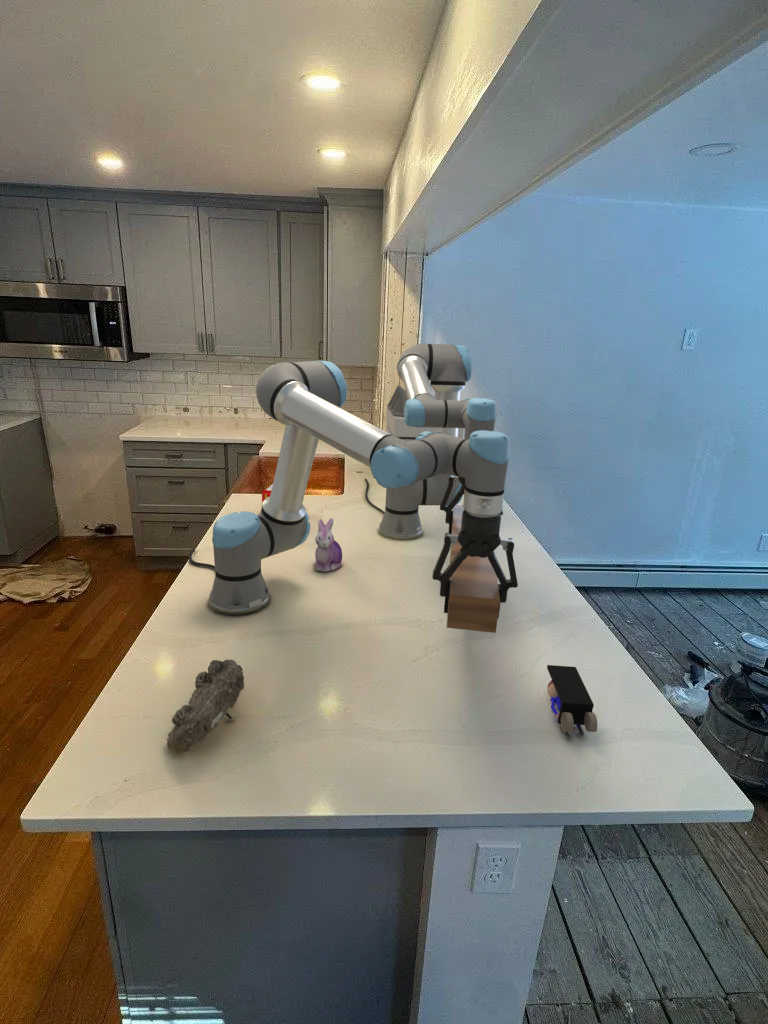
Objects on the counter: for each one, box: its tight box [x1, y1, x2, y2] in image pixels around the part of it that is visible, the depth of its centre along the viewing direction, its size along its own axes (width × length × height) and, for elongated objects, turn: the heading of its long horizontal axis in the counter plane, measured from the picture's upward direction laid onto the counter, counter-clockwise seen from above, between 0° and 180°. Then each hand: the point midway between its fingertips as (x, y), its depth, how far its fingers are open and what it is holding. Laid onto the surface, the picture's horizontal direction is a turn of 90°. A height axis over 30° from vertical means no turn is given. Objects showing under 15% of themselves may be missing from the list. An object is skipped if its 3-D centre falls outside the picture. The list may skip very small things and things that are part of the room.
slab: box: [446, 504, 501, 634], centre depth 137 cm, size 55×10×7 cm, turn 173°
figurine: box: [314, 517, 343, 572], centre depth 170 cm, size 9×10×15 cm
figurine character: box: [546, 664, 598, 737], centre depth 111 cm, size 7×8×15 cm
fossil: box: [166, 658, 245, 754], centre depth 106 cm, size 22×10×15 cm
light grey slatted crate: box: [385, 384, 465, 442], centre depth 268 cm, size 34×33×41 cm
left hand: (470, 612), depth 118 cm, fingers closed on slab, 10 cm apart
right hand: (468, 535), depth 158 cm, fingers closed on slab, 10 cm apart
